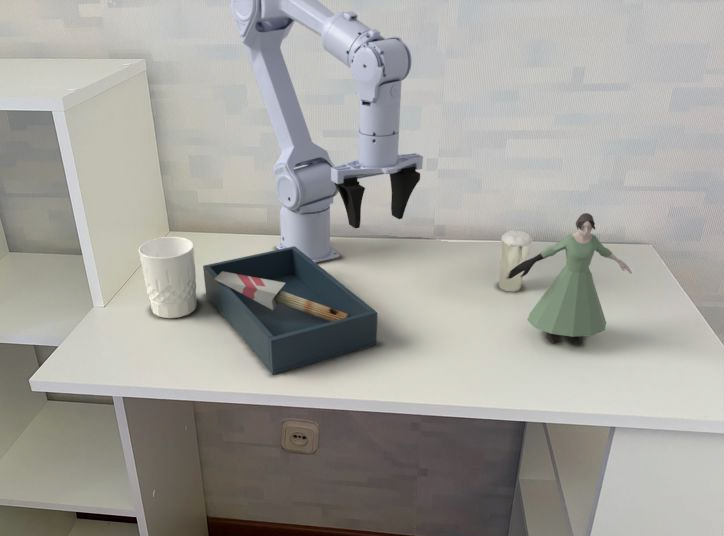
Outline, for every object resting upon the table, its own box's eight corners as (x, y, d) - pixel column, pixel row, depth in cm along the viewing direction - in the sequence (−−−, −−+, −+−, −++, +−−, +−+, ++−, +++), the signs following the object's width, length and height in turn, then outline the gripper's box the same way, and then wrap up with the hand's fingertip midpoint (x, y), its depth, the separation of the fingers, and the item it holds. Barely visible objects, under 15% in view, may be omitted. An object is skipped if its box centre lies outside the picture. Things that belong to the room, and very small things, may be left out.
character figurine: (500, 351, 95) (519, 224, 85) (494, 321, 102) (510, 201, 92) (624, 356, 93) (656, 228, 84) (608, 326, 100) (637, 204, 91)
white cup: (137, 309, 107) (127, 248, 102) (178, 291, 112) (171, 232, 107) (169, 326, 102) (160, 262, 97) (211, 306, 107) (204, 245, 102)
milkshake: (518, 298, 108) (527, 236, 103) (489, 286, 111) (496, 227, 106) (535, 289, 110) (545, 228, 105) (506, 278, 114) (514, 219, 109)
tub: (205, 295, 111) (202, 265, 108) (295, 274, 116) (294, 245, 114) (272, 374, 91) (271, 340, 88) (376, 345, 97) (377, 312, 94)
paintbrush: (225, 261, 104) (351, 306, 101) (222, 277, 106) (347, 322, 102) (213, 271, 101) (344, 318, 98) (211, 287, 102) (339, 334, 99)
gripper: (348, 144, 95) (347, 239, 102) (437, 130, 100) (430, 221, 108) (324, 133, 100) (324, 223, 108) (409, 120, 106) (404, 207, 113)
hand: (375, 221), depth 108 cm, fingers open, 7 cm apart
